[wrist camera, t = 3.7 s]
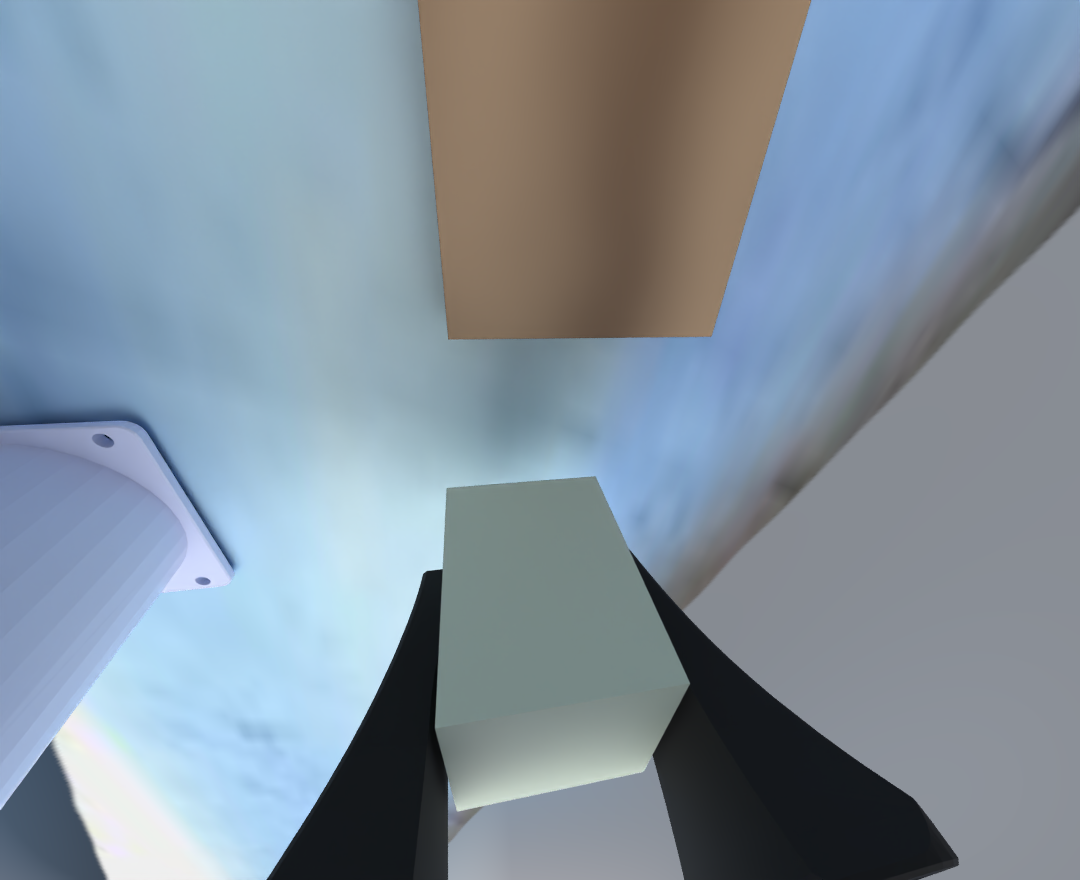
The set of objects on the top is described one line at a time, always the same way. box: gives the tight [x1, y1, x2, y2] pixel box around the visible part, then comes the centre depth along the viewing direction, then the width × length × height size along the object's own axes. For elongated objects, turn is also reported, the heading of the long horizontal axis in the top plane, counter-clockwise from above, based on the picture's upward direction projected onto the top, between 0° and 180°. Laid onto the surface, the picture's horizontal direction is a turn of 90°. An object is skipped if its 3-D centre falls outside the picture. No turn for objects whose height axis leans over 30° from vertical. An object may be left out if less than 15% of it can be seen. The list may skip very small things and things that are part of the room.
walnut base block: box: [418, 0, 811, 339], centre depth 10 cm, size 8×8×2 cm
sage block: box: [435, 476, 690, 811], centre depth 10 cm, size 4×4×6 cm
